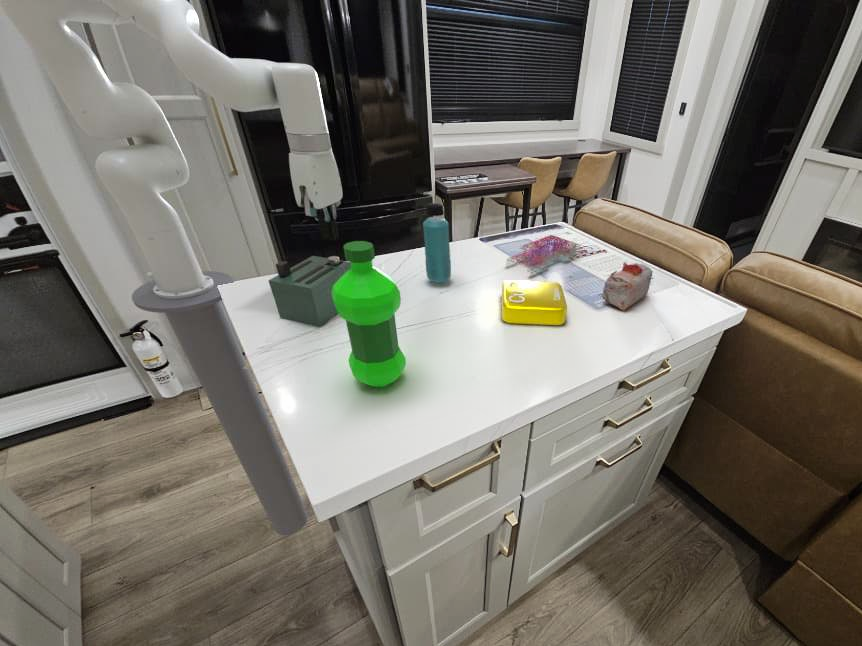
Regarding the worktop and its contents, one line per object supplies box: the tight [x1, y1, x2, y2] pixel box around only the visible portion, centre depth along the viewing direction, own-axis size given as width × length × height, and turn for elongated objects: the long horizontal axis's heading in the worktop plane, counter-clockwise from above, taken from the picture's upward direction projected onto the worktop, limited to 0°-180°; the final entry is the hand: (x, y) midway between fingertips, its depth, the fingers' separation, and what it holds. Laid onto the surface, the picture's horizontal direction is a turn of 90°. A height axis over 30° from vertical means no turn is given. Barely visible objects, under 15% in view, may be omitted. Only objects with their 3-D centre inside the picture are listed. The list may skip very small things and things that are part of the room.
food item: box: [601, 261, 654, 311], centre depth 107 cm, size 14×8×10 cm, turn 140°
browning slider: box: [275, 260, 291, 277], centre depth 88 cm, size 2×2×2 cm
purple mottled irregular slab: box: [505, 234, 583, 278], centre depth 128 cm, size 30×15×5 cm, turn 140°
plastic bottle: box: [331, 240, 407, 388], centre depth 70 cm, size 10×10×25 cm
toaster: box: [268, 255, 351, 327], centre depth 94 cm, size 10×15×9 cm, turn 166°
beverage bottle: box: [422, 202, 452, 283], centre depth 105 cm, size 6×7×20 cm
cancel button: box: [327, 255, 340, 267], centre depth 95 cm, size 2×2×2 cm
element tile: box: [501, 279, 568, 326], centre depth 101 cm, size 15×15×5 cm
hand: (330, 238), depth 92 cm, fingers closed
